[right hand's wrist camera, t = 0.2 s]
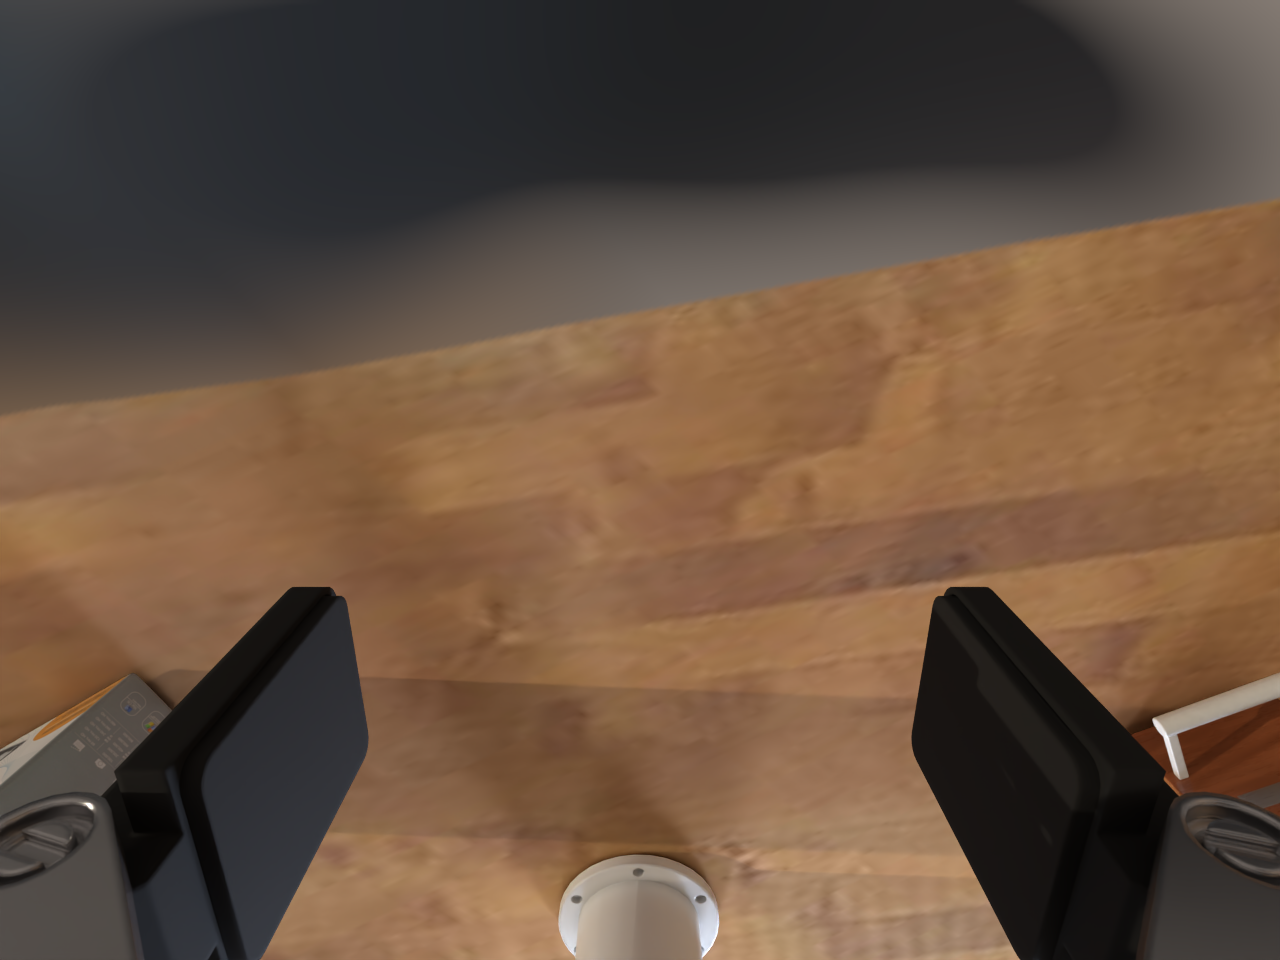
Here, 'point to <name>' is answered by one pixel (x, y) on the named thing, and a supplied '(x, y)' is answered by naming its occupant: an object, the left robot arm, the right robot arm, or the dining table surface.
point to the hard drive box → (80, 745)
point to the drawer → (1223, 744)
